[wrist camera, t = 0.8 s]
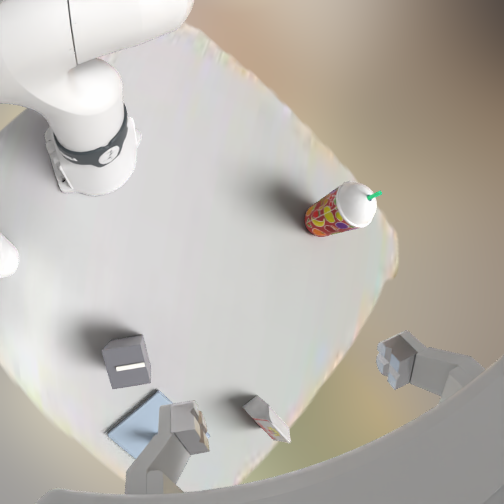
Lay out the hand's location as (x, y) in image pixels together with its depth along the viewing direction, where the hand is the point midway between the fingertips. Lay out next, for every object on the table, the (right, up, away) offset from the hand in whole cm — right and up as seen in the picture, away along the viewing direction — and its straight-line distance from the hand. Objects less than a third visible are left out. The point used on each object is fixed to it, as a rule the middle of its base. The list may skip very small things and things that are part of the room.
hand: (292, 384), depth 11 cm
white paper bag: (0, -25, +39) cm, 47 cm away
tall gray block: (-22, -12, +33) cm, 42 cm away
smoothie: (+12, +12, +49) cm, 52 cm away
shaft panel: (-19, -28, +32) cm, 46 cm away
